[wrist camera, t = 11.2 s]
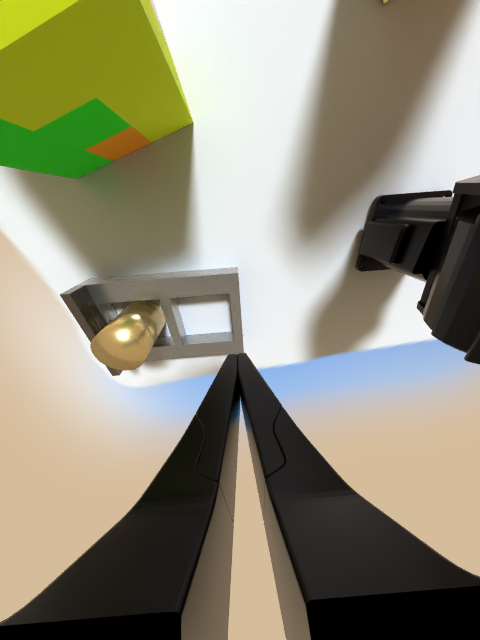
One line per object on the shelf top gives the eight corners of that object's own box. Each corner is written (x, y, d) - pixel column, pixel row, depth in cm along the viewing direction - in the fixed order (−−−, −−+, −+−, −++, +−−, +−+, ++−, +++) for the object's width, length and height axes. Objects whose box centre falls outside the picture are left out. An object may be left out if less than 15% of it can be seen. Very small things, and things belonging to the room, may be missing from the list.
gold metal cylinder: (158, 298, 20) (132, 329, 15) (170, 330, 22) (152, 367, 17) (118, 302, 20) (79, 335, 15) (135, 334, 22) (106, 372, 17)
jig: (237, 267, 18) (239, 280, 15) (242, 343, 24) (244, 364, 21) (89, 278, 18) (59, 294, 15) (128, 352, 24) (112, 375, 20)
